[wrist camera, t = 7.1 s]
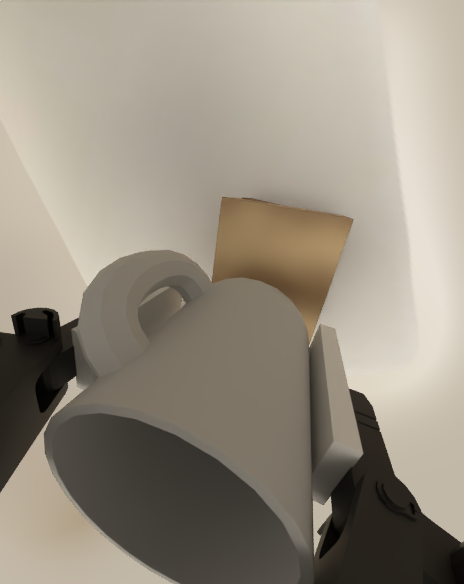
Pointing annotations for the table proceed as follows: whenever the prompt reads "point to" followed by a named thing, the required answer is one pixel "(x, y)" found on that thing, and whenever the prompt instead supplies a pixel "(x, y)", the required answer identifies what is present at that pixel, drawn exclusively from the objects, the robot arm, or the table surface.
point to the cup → (192, 426)
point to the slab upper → (281, 250)
